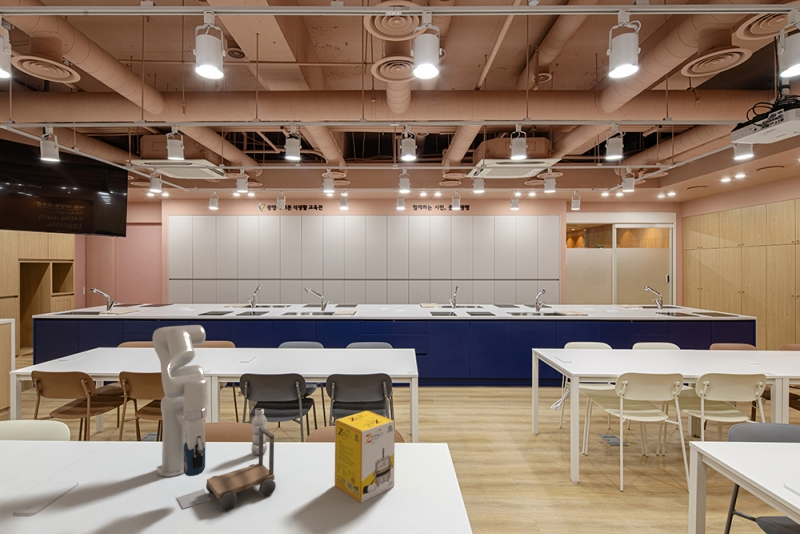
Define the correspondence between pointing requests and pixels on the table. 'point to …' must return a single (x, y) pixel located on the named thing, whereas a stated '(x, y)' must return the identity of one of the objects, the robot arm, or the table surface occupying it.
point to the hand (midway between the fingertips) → (194, 463)
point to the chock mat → (193, 498)
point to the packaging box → (364, 454)
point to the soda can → (188, 461)
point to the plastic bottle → (258, 422)
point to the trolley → (245, 477)
